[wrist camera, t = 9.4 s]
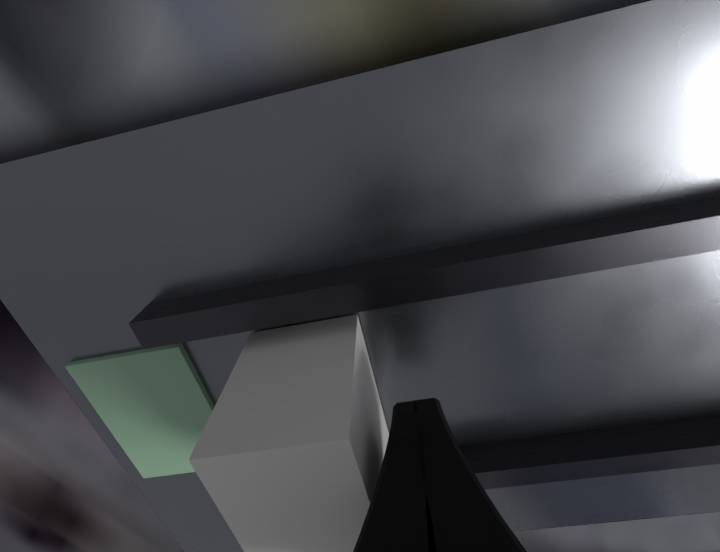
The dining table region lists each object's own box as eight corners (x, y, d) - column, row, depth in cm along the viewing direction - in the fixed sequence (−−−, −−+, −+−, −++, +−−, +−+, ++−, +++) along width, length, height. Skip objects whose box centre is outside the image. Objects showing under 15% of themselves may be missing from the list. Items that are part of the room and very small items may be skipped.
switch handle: (391, 444, 12) (399, 591, 9) (302, 455, 13) (274, 600, 9) (357, 314, 10) (348, 439, 7) (251, 332, 11) (188, 460, 7)
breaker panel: (927, 447, 14) (1034, 517, 12) (205, 525, 17) (180, 590, 15) (1297, -159, 7) (1735, -275, 5) (-25, 171, 10) (-133, 196, 8)
